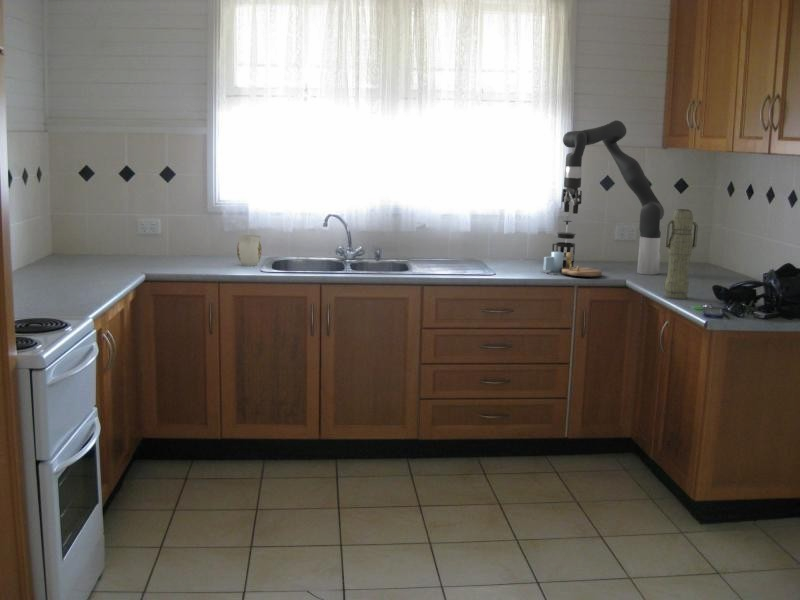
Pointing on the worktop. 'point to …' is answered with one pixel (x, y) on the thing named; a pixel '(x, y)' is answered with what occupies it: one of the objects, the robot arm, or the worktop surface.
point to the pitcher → (249, 249)
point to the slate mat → (551, 272)
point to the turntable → (579, 269)
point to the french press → (565, 244)
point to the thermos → (679, 253)
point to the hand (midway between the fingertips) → (570, 212)
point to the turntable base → (582, 276)
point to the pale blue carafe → (554, 262)
